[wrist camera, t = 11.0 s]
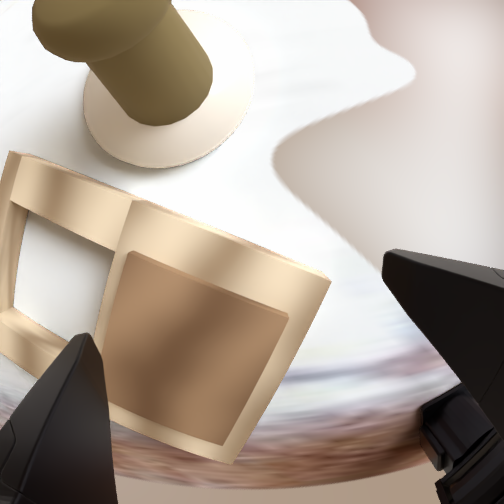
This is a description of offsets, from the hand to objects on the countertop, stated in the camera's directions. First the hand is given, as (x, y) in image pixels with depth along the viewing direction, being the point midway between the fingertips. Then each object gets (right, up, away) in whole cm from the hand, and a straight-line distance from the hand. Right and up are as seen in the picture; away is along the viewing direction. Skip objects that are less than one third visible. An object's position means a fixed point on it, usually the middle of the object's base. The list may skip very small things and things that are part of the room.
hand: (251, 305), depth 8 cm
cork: (-5, +12, +8) cm, 15 cm away
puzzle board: (-9, -2, +11) cm, 14 cm away
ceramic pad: (-5, +12, +9) cm, 16 cm away
